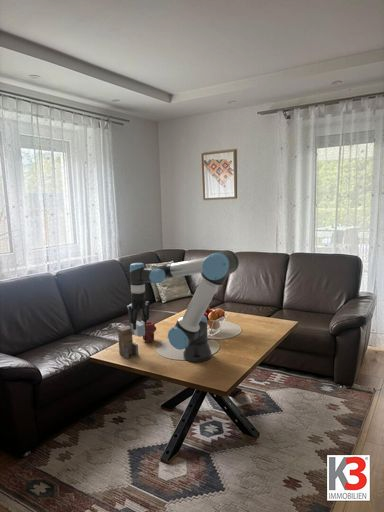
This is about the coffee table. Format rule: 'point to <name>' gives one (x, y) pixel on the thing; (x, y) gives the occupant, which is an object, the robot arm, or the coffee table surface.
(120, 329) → the post
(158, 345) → the coffee table surface
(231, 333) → the coffee table surface
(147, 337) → the mechanical component
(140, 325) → the light blue block
